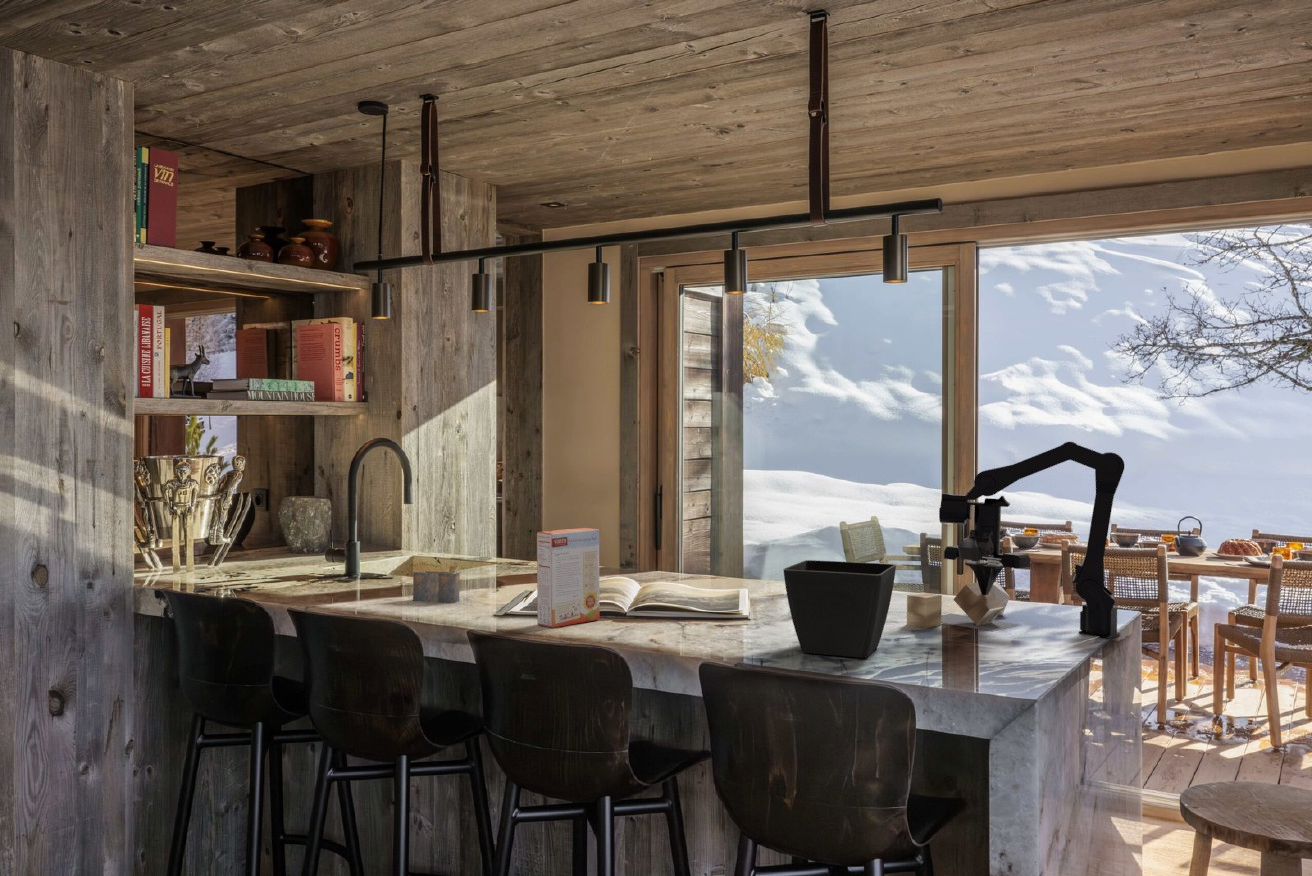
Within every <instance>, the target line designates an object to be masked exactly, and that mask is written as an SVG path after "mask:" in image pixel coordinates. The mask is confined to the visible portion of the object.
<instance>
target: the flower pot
mask: <svg viewBox="0 0 1312 876" xmlns="http://www.w3.org/2000/svg"><path fill="white" fill-rule="evenodd" d="M896 568H897V565H896V564H894V563H893V564H891V563H874V562H856V561H835V560H834V561H833V560H813V559H812V560H810V559H807V560H803V561H800V562H797V563H795V564H792V565H789V566H788V567H787V566H786V567H785V568H783V577H784V579H783V580H784V586H785V591H786V597H787V602H788V603H787V604H788V607H789V612H790V617H791V620H792V623H793V627H794V630H795V635H796V636H797V637H796V638H797V640H798V644H799V646H800V649H801V652H802V653H807V654H815V655H816V654H817V655H825V656H827V655H828V656H836V657H837V656H838V657H849V658H862V659H863V658H865V659H866V658H868V657H869V655H871V654H872V653H873V652H874V651H875V650H876V649H877V648H878V646H879V644H880V641H881V638H882V634H883V633H884V628H885V624H886V621H887V617H888V613H889V608H890V604H891V600H892V594H893V588H894V585H895V584H894V583H895V576H896Z"/></svg>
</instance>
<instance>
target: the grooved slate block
mask: <svg viewBox="0 0 1312 876" xmlns="http://www.w3.org/2000/svg"><path fill="white" fill-rule="evenodd" d="M459 567H460V564H457V565H456V564H452V563H451V565H449V571H431V570H430V571H429V570H428V571H427V570H426V571H425V572H420V570H416V571H413V572H412V576H413V577H412V601H413V602H427V603H428V602H429V603H431V602H432V603H449V604H451V603H452V604H456V603H458V602H460V578H461V577H460V574H461V573H460V572H457V571H458V569H459Z"/></svg>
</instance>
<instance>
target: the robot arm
mask: <svg viewBox="0 0 1312 876" xmlns="http://www.w3.org/2000/svg"><path fill="white" fill-rule="evenodd" d="M1067 461H1073V462H1075V463H1077V464H1080V465H1083V466H1086V467H1088V468H1091V469H1093V470H1094V473H1095V474H1094V478H1095V479H1094V480H1095V497H1094V503H1093V509H1092V515H1091V519H1090V520H1091V521H1090V528H1089V534H1088V540H1087V546H1086V552H1085V556H1084V558H1083V560H1082V562H1079V561H1075V564H1074V565H1075V566H1074V567H1075V574H1074V575H1073V578H1072V584H1075V591H1076V593H1077V595H1078V596H1079V597H1080V598H1081V599H1083V600H1084V602H1085V604H1082V606H1081V607H1082V608H1081V610H1080V612H1079V631H1078V634H1079V635H1087V636H1092V637H1097V638H1103V639H1110V638H1114V637H1117V636H1120V635H1121V632H1120V631H1119V632H1118V607H1117V606H1114V605H1115V604H1116V601H1115V598H1116V597H1115V594H1114V593H1112V592H1111V591H1110V590H1109V589H1108V588H1107V587H1106V586H1105V569H1104V567H1105V566H1104V565H1105V564H1104V563H1105V562H1104V560H1105V559H1104V558H1105V552H1106V545H1107V540H1108V533H1109V527H1110V521H1111V514H1112V510H1113V504H1114V498H1115V495H1116V493H1117V489H1118V487H1119V485H1120V481H1121V479H1122V477H1123V474H1124V471H1125V461H1124V459H1123V458H1122V457H1121V456H1120V455H1119V454H1117V453H1115V452H1113V451H1112V452H1111V451H1106V452H1103V453H1101V452H1098V451H1096V450H1093V449H1091V448H1088V447H1084V446H1082V445H1079V444H1077V443H1076V442H1074V441H1066V442H1064V443H1063V444H1060V445H1059V446H1056V447H1054V448H1051V449H1049V450H1047V451H1044V452H1041V453H1038V454H1036V455H1034V456H1031V457H1029V458H1026V459H1024V460H1021V461H1018V462H1016V463H1013V464H1009V465H1004V466H1000V467H999V466H998V467H996V468H991V469H985V470H981V471H980V472H979V473H977V474H976V475H975V477H974V480H973V487H972V488H971V489H970V490H969V491H967V492H966V493H967V494H952V493H948V492H947V493H946V492H945V493H942V494H941V500H940V507H938V509H939V511H938V512H939V513H938V515H939V518H938V519H939V523H941V524H956V525H966V524H967V521H972V517H973V529H970V531H969V537H968V538H966V539H964V540H963V541H961V542H960V543H959V544H958V545H949V546H946V547H945V548H944V550H943V554H942V555H943V556H942V557H943V559H944V560H952V561H956V560H957V559H958V558H959V559H960V560H961V561H964V560H966V562H965V563H964V565H965V566H968V567H969V568H970V569H971V570H972V571H973V574H974V575H975V578H976V582H978V584H979V587H980V590H981V594H982V595H988V594H989V592H990V590H991V588H992V586H993V584H994V582H996V579H997V578H998V576H999V574H1000V573H1001V571H1002V570H1003V569H1004V568H1010V569H1022V568H1023V569H1024V568H1029V567H1031V565H1032V564H1031V561H1032V559H1031V558H1030V556H1029V554H1028V553H1021V552H1015V551H1013V552H1007V553H1004V552H1003V551H1004V550H1003V549H1004V548H1001V536H1003V535H1004V530H1001V515H1002V514H1001V511H1002V507H1003V508H1008V507H1010V506H1011V503H1010V502H1009V501H1007V499H1006V497H1005V496H1004V495H1001V496H1000V497H999V498H992V497H991V498H988V497H990V496H994V495H996V494H998V493H999V492H1001V491H1002V490H1004V489H1006V488H1008V487H1009V486H1011V485H1012V484H1014V483H1015V482H1017V481H1018V480H1022V479H1024V478H1026V477H1027V478H1028V477H1029V476H1032V475H1035V474H1036V473H1040V472H1042V471H1044V470H1046V469H1049V468H1052V467H1055V466H1057V465H1059V464H1062V463H1064V462H1067ZM982 496H984V497H986V498H984V502H983V501H982V502H980V501H976V500H977V499H979V498H981V497H982ZM972 506H974V507H972ZM973 508H974V509H973ZM972 513H973V514H972Z"/></svg>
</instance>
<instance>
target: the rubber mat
mask: <svg viewBox="0 0 1312 876" xmlns="http://www.w3.org/2000/svg"><path fill="white" fill-rule="evenodd" d="M941 624H946V625H950V626H951V625H952V626H957V627H963V628H971V629H976V630H981V631H987V632H997V631H1001V630H1005V629H1010V628H1014V627H1018V626H1021V624H1019V623H1018V624H1017V623H1012V622H1008V621H999V620H995V619H994V621H993V622H992V623H988V624H983V625H979V626H977V625H976V624H975V623H974V622H973V621H972V619H971V618H970V617H969V616H968V615H964V614H963V615H961V614H956V613H952V612H951V613H946V614H941Z"/></svg>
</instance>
